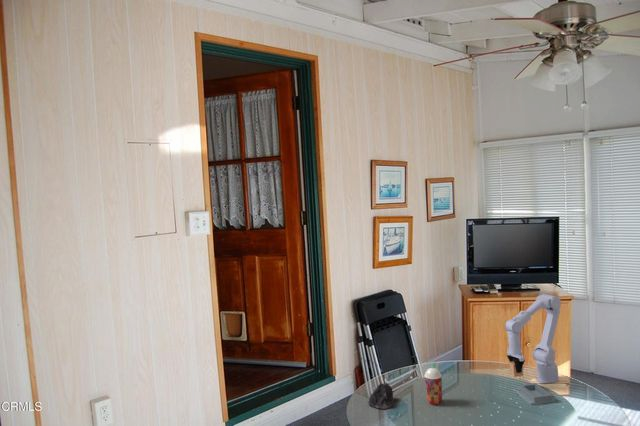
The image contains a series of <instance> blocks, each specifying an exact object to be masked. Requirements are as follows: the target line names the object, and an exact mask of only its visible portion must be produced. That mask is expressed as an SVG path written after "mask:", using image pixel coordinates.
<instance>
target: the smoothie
mask: <svg viewBox="0 0 640 426" xmlns="http://www.w3.org/2000/svg"><path fill="white" fill-rule="evenodd" d="M430 364H431V365H430V366H431V367H430V368H427V370H426V371H425V373H424V375H423V377H424V382H425V389H426V396H427V401H428V403H429V404H430V405H432V406H438V405H441V404H442V401H443V377H442V376H443V374H442V373H441V372H440V370H439V369H438V368H436V367H434V364H433V362H431V363H430Z"/></svg>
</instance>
